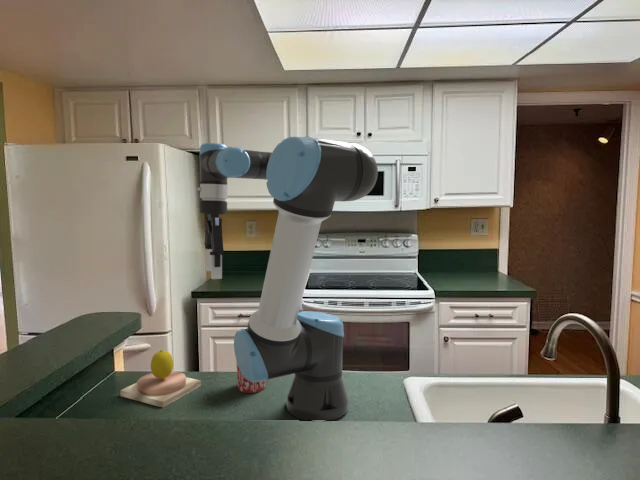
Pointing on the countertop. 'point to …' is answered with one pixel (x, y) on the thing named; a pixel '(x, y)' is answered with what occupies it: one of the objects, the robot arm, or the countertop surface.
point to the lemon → (162, 364)
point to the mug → (248, 383)
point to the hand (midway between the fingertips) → (213, 274)
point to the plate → (160, 389)
